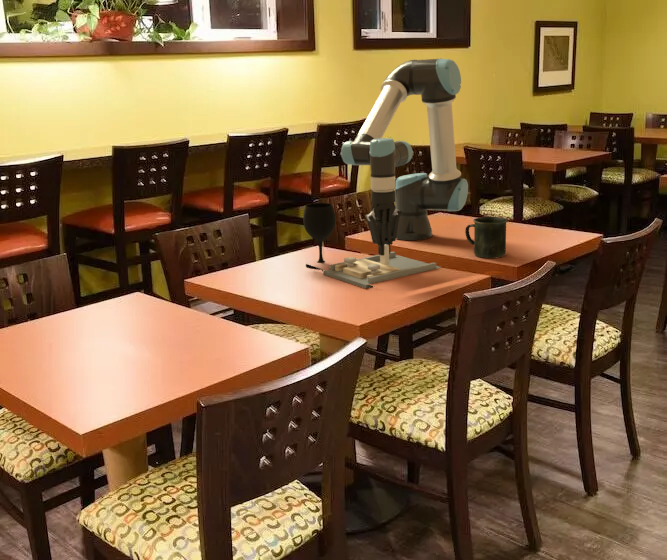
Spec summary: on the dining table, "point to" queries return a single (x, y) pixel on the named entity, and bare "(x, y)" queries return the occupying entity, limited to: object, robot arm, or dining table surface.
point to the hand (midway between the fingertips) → (384, 264)
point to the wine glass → (319, 224)
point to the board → (364, 281)
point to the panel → (364, 269)
